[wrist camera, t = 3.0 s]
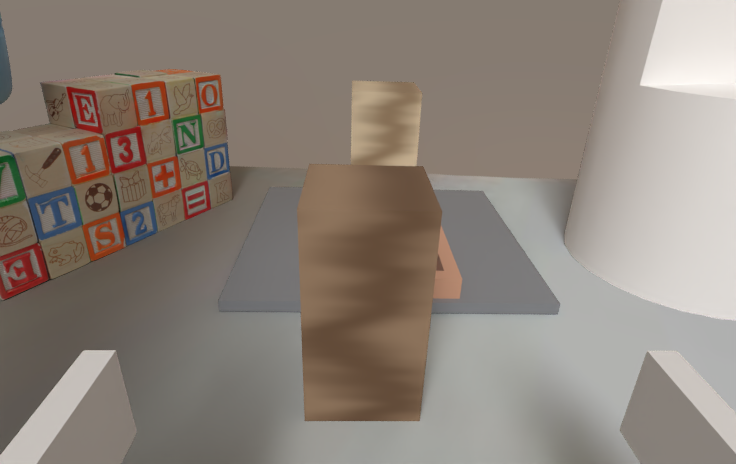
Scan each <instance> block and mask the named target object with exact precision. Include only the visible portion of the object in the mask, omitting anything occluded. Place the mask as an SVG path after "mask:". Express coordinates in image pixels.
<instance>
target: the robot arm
mask: <svg viewBox="0 0 736 464" xmlns="http://www.w3.org/2000/svg"><path fill="white" fill-rule="evenodd" d="M11 91H12V77H11V70H10V63H9V57H8V51H7V45H6V40H5V35H4V30H3V27H2V19H1V14H0V104H2V103H3V102H5V101H6V100H7V99H8V97H9V96H10V94H11ZM620 432H621V433H622V435H623V436H624V438H625V440H626V441H627V443H628V444H629V446H630V448H631V449H632V451H633V452H634V454H635V455H636V457H637V459H638V460H639V462H640V463H641V464H736V413H735V412H734V411H733V409H732V408H731V407H730V406H729V405H728V404H727V403H726V402H725V401H724V400H723V399H722V398H721V397H720V396H719V395H718V394H717V393H716V392H715V390H714V389H713V388H712V387H711V386H710V385H709V384H708V383H707V382H706V381H705V380H704V379H703V378H702V377H701V376H700V375H699V374H698V373H697V371H696V370H695V369H694V368H693V367H692V366H691V365H690V364H689V363H688V362H687V361H686V360H685V359H684V358H683V357H682V356H681V355H680V354H679V352H678V351H647V353H646V356H645V358H644V361H643V364H642V367H641V370H640V373H639V376H638V379H637V381H636V384H635V387H634V390H633V393H632V396H631V399H630V401H629V404H628V407H627V410H626V413H625V416H624V419H623V421H622V424H621V427H620ZM136 434H137V430H136V426H135V422H134V418H133V415H132V411H131V407H130V403H129V399H128V395H127V391H126V387H125V384H124V380H123V376H122V372H121V368H120V364H119V360H118V356H117V353H116V350H83V352H82V353H81V354H80V355H79V357H78V358H77V359H76V360H75V362H74V363H73V364H72V365H71V367H70V368H69V369H68V371H67V372H66V373H65V374H64V376H63V377H62V378H61V379H60V381H59V382H58V383H57V384H56V386H55V387H54V388H53V389H52V391H51V392H50V393H49V394H48V396H47V397H46V398H45V400H44V401H43V402H42V403H41V405H40V406H39V407H38V408H37V410H36V411H35V412H34V413H33V415H32V416H31V417H30V418H29V420H28V421H27V422H26V423H25V425H24V426H23V427H22V429H21V430H20V431H19V432H18V434H17V435H16V436H15V437H14V439H13V440H12V441H11V442H10V444H9V445H8V446H7V447H6V449H5V450H4V451H3V452H2V454H1V455H0V464H121V463H122V461H123V459H124V457H125V455H126V453H127V451H128V449H129V448H130V446H131V444H132V442H133V440H134V438H135V436H136Z"/></svg>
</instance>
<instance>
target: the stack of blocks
mask: <svg viewBox="0 0 736 464" xmlns="http://www.w3.org/2000/svg"><path fill="white" fill-rule="evenodd" d="M40 84H41V87H42V92H43V96H44V100H45V104H46V109H47V113H48V117H49V122H50V123H49V124H45V125H39V126H34V127H28V128H23V129H18V130H13V131H4V132H0V300H5V299H7V298H10V297H12V296H14V295H16V294H19V293H21V292H23V291H25V290H27V289H30V288H32V287H34V286H36V285H38V284H41V283H43V282H45V281H47V280H48V279H54V278H56V277H59V276H61V275H63V274H66V273H68V272H70V271H73V270H75V269H77V268H79V267H82V266H84V265H86V264H88V263H89V262H90V261H95V260H97V259H100V258H102V257H104V256H107V255H109V254H111V253H113V252H116V251H118V250H120V249H123V248H125V247H126V246H128V245H130V244H133V243H135V242H137V241H139V240H142V239H144V238H146V237H148V236H151V235H153V234H155V233H157V232H159V231H162V230H164V229H166V228H168V227H170V226H173V225H175V224H177V223H179V222H182V221H184V220H187V219H189V218H192V217H194V216H196V215H198V214H201V213H203V212H205V211H207V210H209V209H212V208H214V207H217V206H219V205H221V204H223V203H226V202H228V201H230V200H232V199H233V194H232V185H231V174H230V168H229V158H228V145H227V127H226V117H225V109H223V98H222V87H221V77H220V75H219V74H213V73H205V72H198V71H195V72H194V71H186V70H176V69H168V70H160V71H159V70H158V71H147V70H136V71H127V72H117V73H115V75H112V74H111V75H102V76H92V77H83V78H80V79H78V78H75V79H67V80H56V81H47V82H41V83H40Z"/></svg>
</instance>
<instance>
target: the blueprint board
mask: <svg viewBox="0 0 736 464" xmlns="http://www.w3.org/2000/svg"><path fill="white" fill-rule="evenodd" d="M302 189H303V187H270V188H269V190H268V193H267V195H266V197H265V199H264V201H263V204H262V206H261V208H260V210H259V212H258V215H257V217H256V219H255V221H254V223H253V225H252V228H251V230H250V232H249V234H248V236H247V239H246V241H245V243H244V245H243V247H242V250H241V252H240V254H239V256H238V258H237V261H236V263H235V265H234V267H233V269H232V272H231V274H230V276H229V278H228V280H227V282H226V285H225V287H224V289H223V291H222V293H221V296H220V298H219V300H218V303H219V311H259V312H301V303H300V276H299V249H298V222H297V207H298V203H299V200H300V196H301V193H302ZM433 191H434V193H435V195H436V198H437V200H438V202H439V205H440V207H441V209H442V220H441V229H440V238H439V247H438V256H437V265H436V274H435V284H434V293H433V302H432V311H431V313H484V314H558V312H559V308H560V303H559V301H558V300H557V298H556V297H555V295H554V294H553V293H552V291H551V290H550V288H549V287H548V285H547V284H546V282H545V281H544V279H543V278H542V277H541V275H540V274H539V272H538V271H537V269H536V268H535V266H534V265H533V263H532V262H531V261H530V259H529V258H528V256H527V255H526V253H525V252H524V250H523V249H522V247H521V246H520V245H519V243H518V242H517V240H516V239H515V237H514V236H513V234H512V233H511V231H510V230H509V229H508V227H507V226H506V224H505V223H504V221H503V220H502V218H501V217H500V215H499V214H498V213H497V211H496V210H495V208H494V207H493V205H492V204H491V202H490V201H489V199H488V198H487V197H486V195H485V194H484V192H483V191H462V190H433Z"/></svg>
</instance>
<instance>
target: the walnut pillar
mask: <svg viewBox="0 0 736 464" xmlns="http://www.w3.org/2000/svg"><path fill="white" fill-rule="evenodd" d="M441 220H442V209H441V207H440V205H439V202H438V200H437V198H436V195H435V193H434V191H433V188H432V186H431V184H430V181H429V179H428V177H427V174H426V172H425V170H424V167H423V166H380V165H334V164H309V167H308V171H307V175H306V178H305V182H304V185H303V189H302V193H301V196H300V200H299V203H298V207H297V222H298V249H299V276H300V303H301V330H302V357H303V384H304V411H305V421H419V420H420V411H421V402H422V393H423V384H424V375H425V366H426V356H427V347H428V338H429V329H430V320H431V311H432V302H433V293H434V284H435V274H436V265H437V256H438V247H439V238H440V229H441Z"/></svg>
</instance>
